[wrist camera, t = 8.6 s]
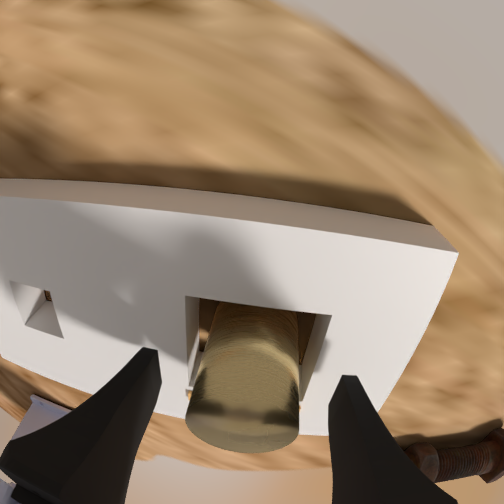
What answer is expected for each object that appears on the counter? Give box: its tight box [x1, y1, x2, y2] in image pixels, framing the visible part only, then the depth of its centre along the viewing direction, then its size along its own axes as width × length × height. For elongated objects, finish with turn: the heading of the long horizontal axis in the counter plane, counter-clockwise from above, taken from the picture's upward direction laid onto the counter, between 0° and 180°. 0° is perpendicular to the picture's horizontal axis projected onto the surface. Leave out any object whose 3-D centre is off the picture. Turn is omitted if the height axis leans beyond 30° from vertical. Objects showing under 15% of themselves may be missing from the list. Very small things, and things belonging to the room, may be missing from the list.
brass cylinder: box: [185, 301, 299, 453], centre depth 13 cm, size 4×4×6 cm
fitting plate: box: [0, 178, 459, 436], centre depth 14 cm, size 24×12×3 cm, turn 84°
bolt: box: [404, 428, 504, 483], centre depth 19 cm, size 6×5×15 cm
